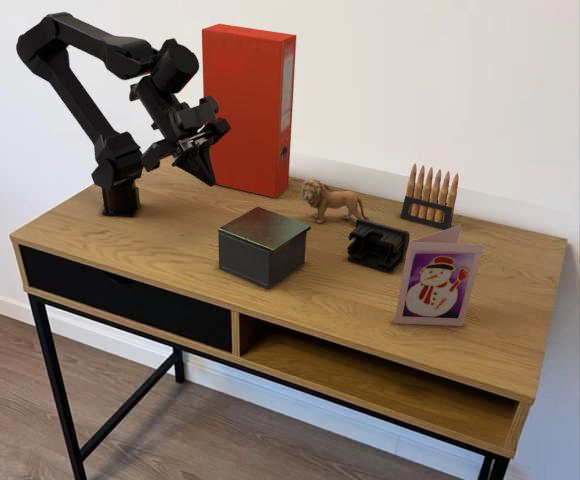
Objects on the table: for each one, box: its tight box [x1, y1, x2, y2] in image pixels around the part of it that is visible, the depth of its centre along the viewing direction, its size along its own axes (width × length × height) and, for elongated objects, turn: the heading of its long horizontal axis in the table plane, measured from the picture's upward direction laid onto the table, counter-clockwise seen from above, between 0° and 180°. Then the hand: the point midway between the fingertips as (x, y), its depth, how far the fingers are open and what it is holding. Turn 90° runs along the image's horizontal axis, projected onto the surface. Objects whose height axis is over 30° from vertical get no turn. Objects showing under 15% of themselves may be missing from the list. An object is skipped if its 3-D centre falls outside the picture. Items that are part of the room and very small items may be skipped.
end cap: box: [346, 218, 411, 274], centre depth 119 cm, size 10×7×7 cm
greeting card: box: [393, 224, 485, 327], centre depth 102 cm, size 11×7×15 cm, turn 90°
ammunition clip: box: [400, 163, 460, 230], centre depth 131 cm, size 11×2×12 cm, turn 62°
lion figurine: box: [300, 178, 370, 226], centre depth 131 cm, size 15×5×9 cm, turn 94°
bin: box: [217, 231, 308, 290], centre depth 115 cm, size 11×12×7 cm
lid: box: [217, 206, 312, 254], centre depth 112 cm, size 12×12×1 cm
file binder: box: [201, 23, 297, 198], centre depth 136 cm, size 8×17×32 cm, turn 67°
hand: (213, 185), depth 114 cm, fingers closed
